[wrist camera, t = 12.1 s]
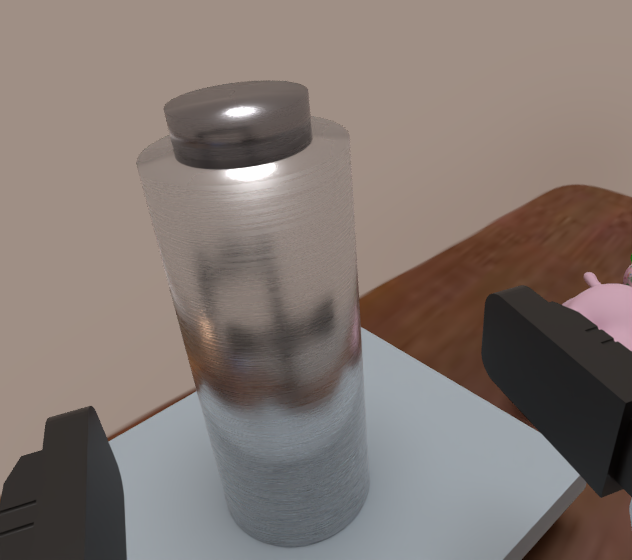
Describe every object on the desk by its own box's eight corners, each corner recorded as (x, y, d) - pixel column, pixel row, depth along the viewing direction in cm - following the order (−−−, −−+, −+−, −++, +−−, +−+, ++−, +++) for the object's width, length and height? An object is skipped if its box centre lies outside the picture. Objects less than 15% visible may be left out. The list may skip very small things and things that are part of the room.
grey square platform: (230, 931, 12) (200, 889, 10) (52, 550, 20) (19, 492, 19) (575, 526, 19) (590, 462, 18) (340, 365, 27) (335, 311, 26)
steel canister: (340, 568, 15) (291, 136, 9) (197, 520, 17) (74, 128, 11) (387, 443, 19) (375, 71, 13) (265, 414, 21) (201, 73, 14)
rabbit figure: (609, 288, 33) (465, 387, 24) (637, 190, 31) (487, 258, 21) (733, 329, 29) (616, 468, 20) (776, 220, 27) (665, 320, 17)
